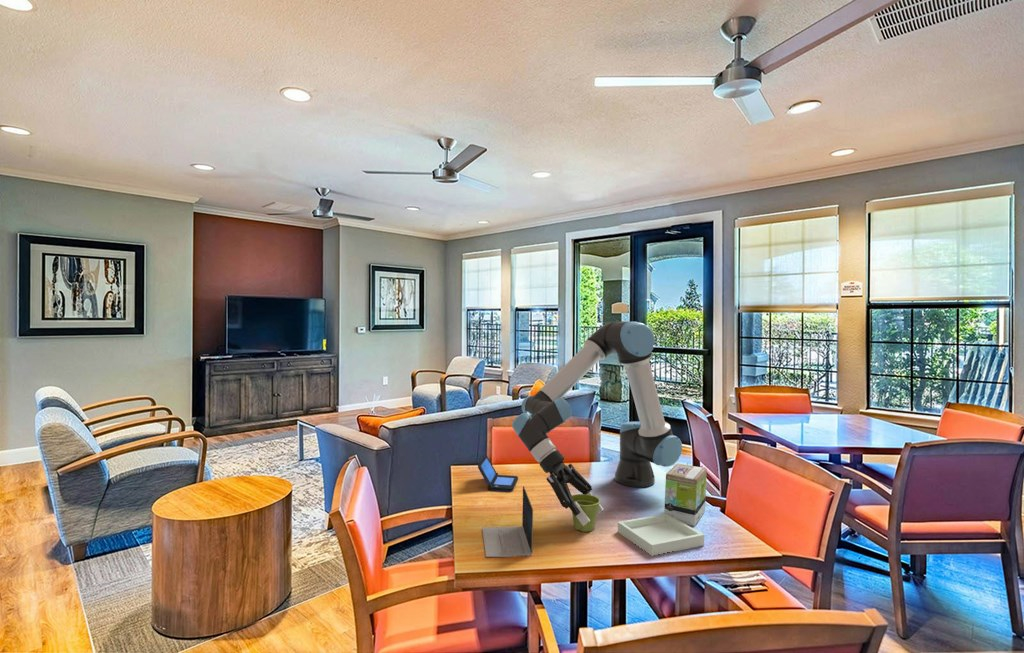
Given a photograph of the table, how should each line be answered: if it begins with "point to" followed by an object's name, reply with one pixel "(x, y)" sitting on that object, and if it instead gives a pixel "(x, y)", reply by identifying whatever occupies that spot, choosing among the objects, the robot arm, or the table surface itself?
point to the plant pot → (586, 511)
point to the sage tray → (660, 534)
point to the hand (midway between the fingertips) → (593, 517)
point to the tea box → (685, 493)
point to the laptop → (511, 536)
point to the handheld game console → (496, 477)
